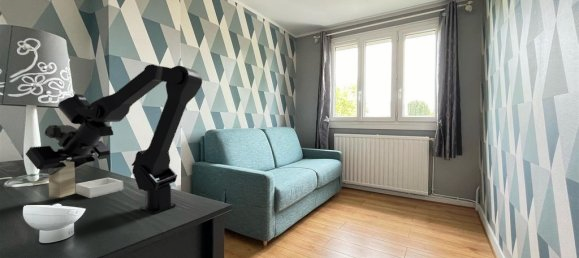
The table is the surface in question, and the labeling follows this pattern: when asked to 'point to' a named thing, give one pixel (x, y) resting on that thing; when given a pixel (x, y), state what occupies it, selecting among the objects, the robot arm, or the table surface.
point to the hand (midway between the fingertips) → (58, 172)
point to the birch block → (62, 181)
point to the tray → (99, 187)
